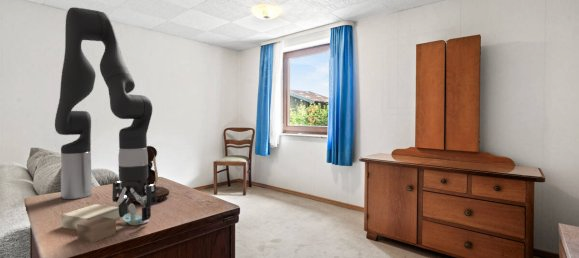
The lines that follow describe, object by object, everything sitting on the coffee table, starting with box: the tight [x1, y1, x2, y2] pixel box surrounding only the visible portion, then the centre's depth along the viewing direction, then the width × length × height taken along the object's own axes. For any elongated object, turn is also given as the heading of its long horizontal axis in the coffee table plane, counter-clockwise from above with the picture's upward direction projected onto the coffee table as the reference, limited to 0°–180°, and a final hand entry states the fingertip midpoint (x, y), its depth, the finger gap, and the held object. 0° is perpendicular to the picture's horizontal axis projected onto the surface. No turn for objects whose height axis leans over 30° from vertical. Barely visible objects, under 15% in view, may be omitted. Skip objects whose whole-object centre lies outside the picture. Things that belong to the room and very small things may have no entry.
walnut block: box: [76, 216, 117, 243], centre depth 74 cm, size 6×6×4 cm
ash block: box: [61, 203, 121, 230], centre depth 83 cm, size 10×10×4 cm
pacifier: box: [122, 203, 150, 226], centre depth 83 cm, size 7×6×6 cm
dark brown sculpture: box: [128, 145, 170, 204], centre depth 106 cm, size 15×15×20 cm
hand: (134, 218), depth 83 cm, fingers open, 8 cm apart
